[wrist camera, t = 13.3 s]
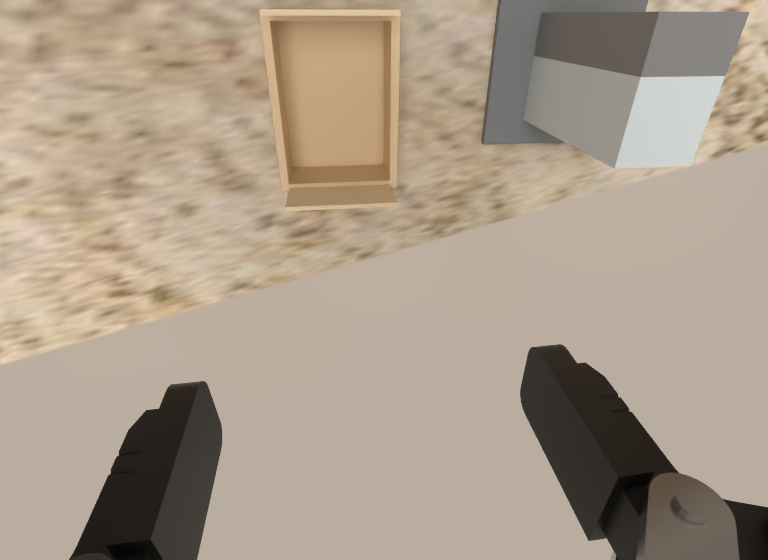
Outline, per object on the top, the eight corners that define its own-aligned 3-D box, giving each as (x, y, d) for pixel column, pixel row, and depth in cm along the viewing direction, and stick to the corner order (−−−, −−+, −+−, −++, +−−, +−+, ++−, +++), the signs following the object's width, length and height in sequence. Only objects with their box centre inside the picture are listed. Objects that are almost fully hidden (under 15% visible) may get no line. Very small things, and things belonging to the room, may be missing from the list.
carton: (267, 10, 32) (249, 9, 24) (390, 10, 33) (410, 9, 25) (286, 172, 38) (277, 211, 31) (389, 168, 39) (404, 206, 32)
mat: (500, -19, 33) (503, -19, 32) (647, -17, 34) (653, -18, 33) (481, 142, 39) (483, 144, 38) (606, 139, 40) (609, 140, 40)
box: (541, 12, 34) (659, 11, 22) (601, 12, 34) (749, 12, 22) (523, 120, 38) (614, 168, 26) (577, 118, 38) (691, 165, 26)
